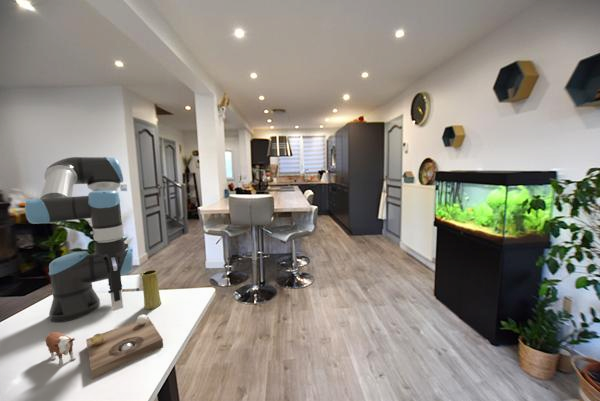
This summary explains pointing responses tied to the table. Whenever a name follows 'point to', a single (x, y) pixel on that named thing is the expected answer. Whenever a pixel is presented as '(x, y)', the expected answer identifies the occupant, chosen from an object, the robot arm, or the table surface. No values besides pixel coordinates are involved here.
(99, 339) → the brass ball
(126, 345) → the steel ball
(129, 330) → the board
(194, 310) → the table surface
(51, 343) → the bull figurine
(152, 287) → the vase
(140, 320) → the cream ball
